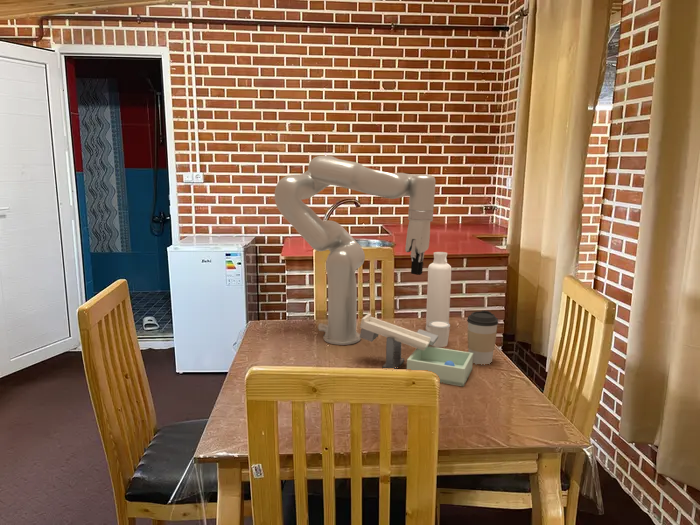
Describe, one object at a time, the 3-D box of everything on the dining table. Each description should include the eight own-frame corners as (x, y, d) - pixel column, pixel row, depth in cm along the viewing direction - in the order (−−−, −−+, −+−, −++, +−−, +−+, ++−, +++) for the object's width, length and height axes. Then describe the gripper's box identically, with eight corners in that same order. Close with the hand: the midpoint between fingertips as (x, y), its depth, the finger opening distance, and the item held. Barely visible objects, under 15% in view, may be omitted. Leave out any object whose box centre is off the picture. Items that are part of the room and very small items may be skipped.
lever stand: (382, 368, 151) (383, 337, 149) (391, 358, 158) (392, 329, 156) (395, 371, 149) (396, 339, 147) (404, 361, 157) (405, 331, 155)
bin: (406, 376, 146) (407, 359, 145) (419, 360, 157) (419, 344, 156) (463, 386, 139) (464, 369, 138) (472, 369, 151) (473, 352, 150)
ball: (451, 374, 146) (441, 370, 146) (453, 370, 148) (444, 366, 149) (454, 365, 145) (444, 361, 146) (457, 361, 147) (447, 357, 148)
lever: (357, 336, 154) (362, 318, 152) (371, 325, 164) (375, 308, 162) (424, 361, 147) (429, 342, 145) (434, 348, 157) (439, 330, 155)
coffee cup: (490, 368, 151) (493, 319, 148) (460, 362, 156) (463, 314, 153) (499, 359, 159) (502, 312, 156) (470, 353, 164) (473, 307, 161)
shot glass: (449, 348, 167) (450, 327, 166) (427, 346, 169) (428, 326, 167) (449, 341, 174) (450, 321, 173) (428, 339, 175) (429, 320, 174)
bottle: (446, 334, 180) (450, 255, 175) (423, 331, 183) (426, 254, 178) (450, 327, 188) (454, 252, 182) (428, 325, 191) (431, 250, 185)
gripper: (416, 212, 167) (412, 268, 171) (400, 216, 154) (397, 276, 157) (439, 214, 164) (434, 271, 168) (425, 219, 150) (420, 280, 154)
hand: (416, 273), depth 162 cm, fingers closed
